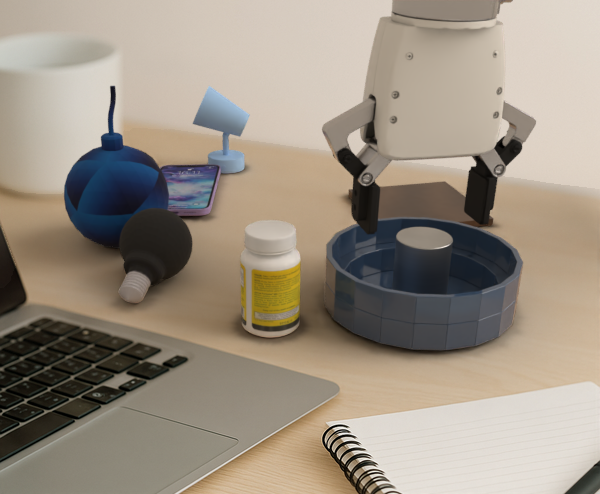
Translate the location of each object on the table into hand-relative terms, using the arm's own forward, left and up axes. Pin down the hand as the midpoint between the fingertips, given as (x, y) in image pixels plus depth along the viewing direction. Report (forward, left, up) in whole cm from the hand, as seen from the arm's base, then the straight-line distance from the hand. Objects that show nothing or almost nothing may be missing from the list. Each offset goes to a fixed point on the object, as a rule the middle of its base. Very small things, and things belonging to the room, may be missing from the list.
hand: (421, 223), depth 67 cm
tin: (0, 0, -7) cm, 7 cm away
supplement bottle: (+13, 0, -8) cm, 15 cm away
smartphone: (+15, -32, -8) cm, 36 cm away
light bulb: (+21, -10, -8) cm, 24 cm away
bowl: (0, 0, -8) cm, 8 cm away
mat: (-9, -21, -8) cm, 24 cm away
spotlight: (+8, -40, -8) cm, 42 cm away
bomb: (+23, -20, -8) cm, 31 cm away
